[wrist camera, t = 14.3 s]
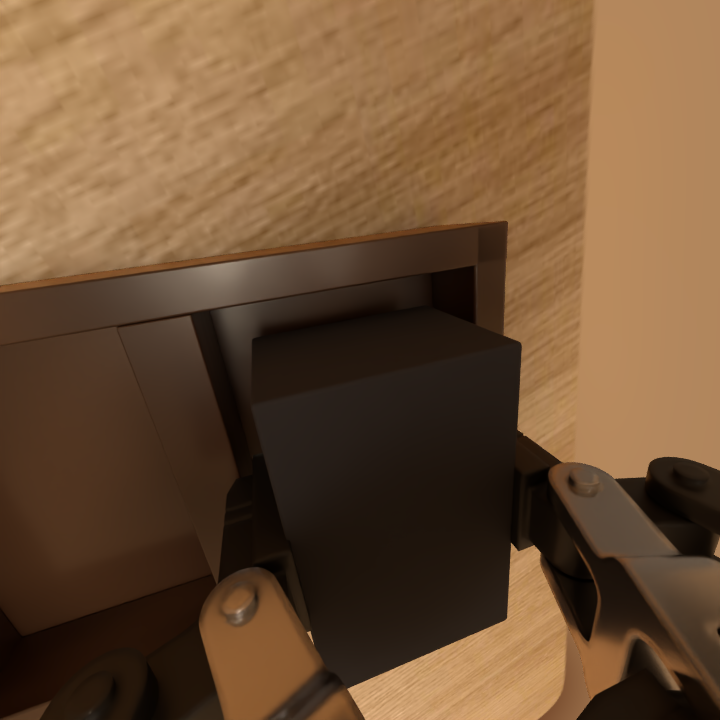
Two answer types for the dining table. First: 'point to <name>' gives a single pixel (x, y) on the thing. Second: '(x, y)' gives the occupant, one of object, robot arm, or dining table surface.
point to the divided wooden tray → (166, 426)
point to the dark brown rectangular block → (392, 478)
